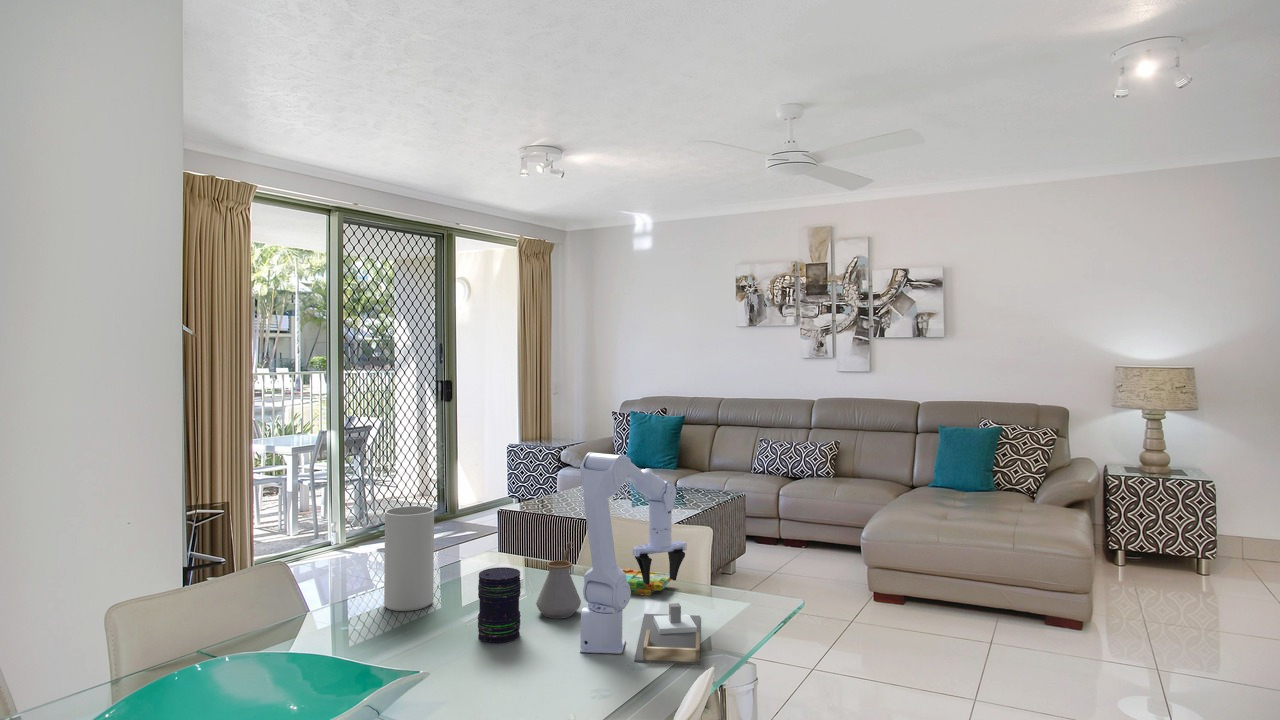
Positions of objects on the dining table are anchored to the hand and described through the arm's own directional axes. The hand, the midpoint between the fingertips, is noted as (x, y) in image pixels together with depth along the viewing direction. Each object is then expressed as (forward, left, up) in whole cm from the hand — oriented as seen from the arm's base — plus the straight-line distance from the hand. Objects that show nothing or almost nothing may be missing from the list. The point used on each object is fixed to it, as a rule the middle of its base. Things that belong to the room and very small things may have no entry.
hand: (659, 581), depth 186 cm
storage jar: (-37, -16, -10) cm, 41 cm away
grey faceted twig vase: (-26, +6, -10) cm, 28 cm away
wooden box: (+4, -21, -9) cm, 23 cm away
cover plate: (+4, -6, -9) cm, 12 cm away
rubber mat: (+3, -13, -9) cm, 16 cm away
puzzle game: (-9, +24, -10) cm, 27 cm away
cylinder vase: (-67, +4, -10) cm, 68 cm away
